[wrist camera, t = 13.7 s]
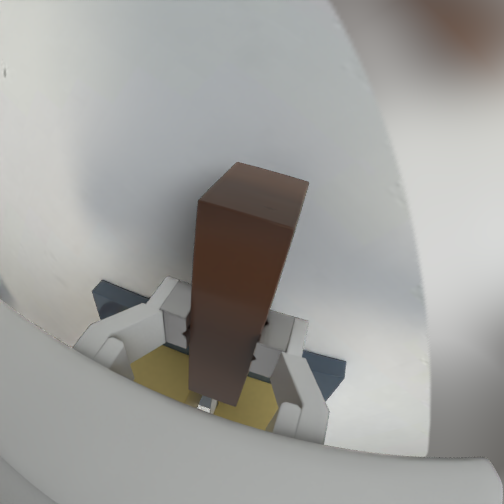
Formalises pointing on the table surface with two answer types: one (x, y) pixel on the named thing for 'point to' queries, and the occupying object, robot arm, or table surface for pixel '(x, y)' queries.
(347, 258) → the table surface
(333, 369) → the butter dish
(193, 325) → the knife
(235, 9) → the table surface
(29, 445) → the robot arm
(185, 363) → the butter block
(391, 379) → the table surface
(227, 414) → the block
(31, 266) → the table surface
